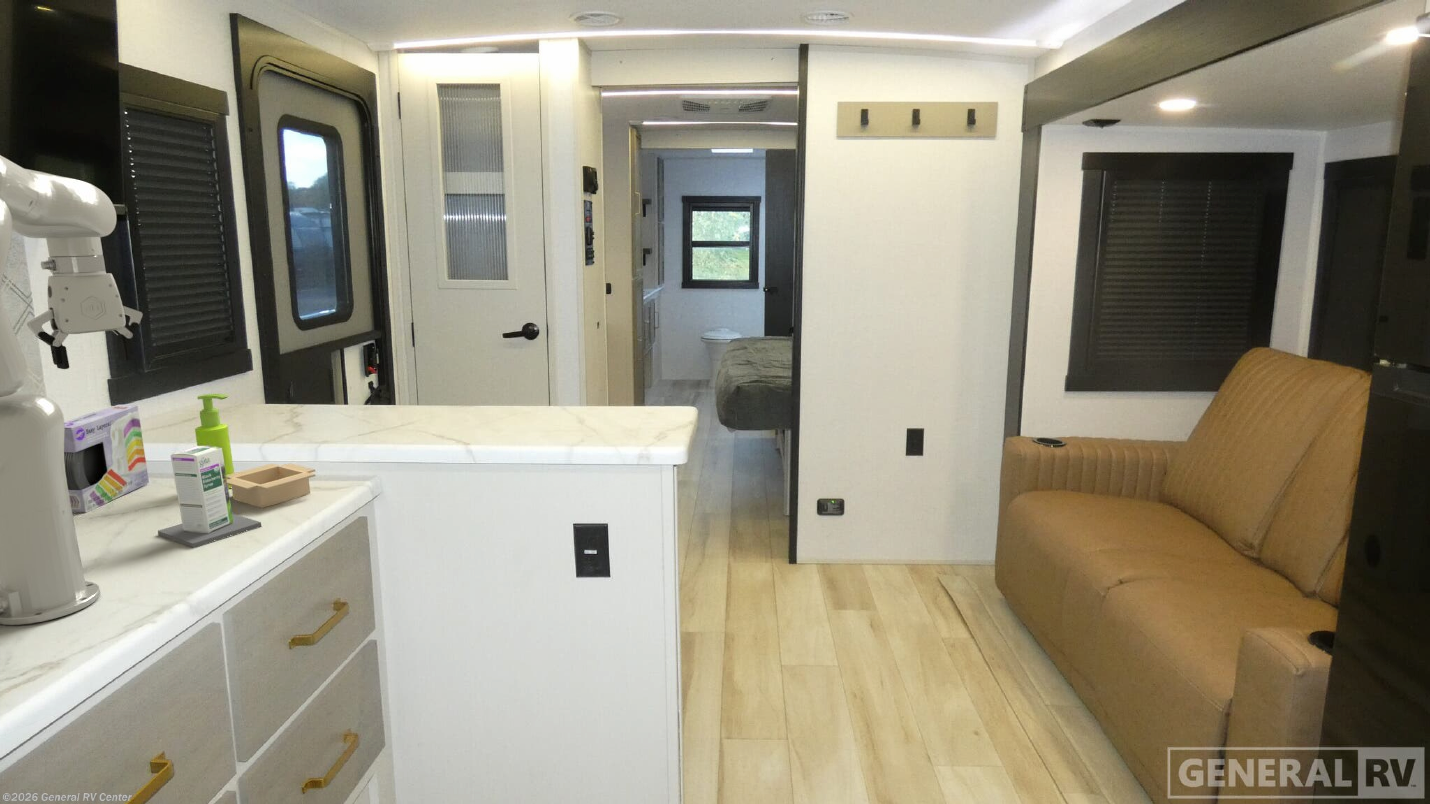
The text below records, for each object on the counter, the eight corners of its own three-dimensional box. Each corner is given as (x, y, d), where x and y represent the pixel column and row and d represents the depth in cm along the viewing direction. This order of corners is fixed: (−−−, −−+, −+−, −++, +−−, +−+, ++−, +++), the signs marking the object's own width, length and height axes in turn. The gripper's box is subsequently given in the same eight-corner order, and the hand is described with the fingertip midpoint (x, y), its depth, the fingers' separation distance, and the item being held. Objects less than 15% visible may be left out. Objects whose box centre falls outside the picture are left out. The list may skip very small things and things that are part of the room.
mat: (193, 547, 146) (192, 543, 146) (158, 534, 153) (157, 530, 152) (261, 526, 156) (260, 522, 156) (225, 515, 162) (225, 511, 162)
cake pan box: (83, 515, 163) (67, 426, 160) (58, 515, 164) (41, 426, 160) (152, 484, 182) (139, 403, 178) (130, 484, 182) (116, 403, 179)
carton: (259, 513, 163) (256, 490, 162) (216, 500, 171) (213, 478, 170) (326, 492, 175) (324, 471, 174) (283, 481, 183) (281, 461, 182)
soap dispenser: (230, 491, 176) (217, 397, 172) (197, 492, 176) (183, 397, 172) (246, 483, 182) (233, 391, 178) (214, 483, 182) (201, 391, 178)
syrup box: (208, 534, 150) (196, 455, 147) (181, 531, 152) (169, 452, 149) (234, 522, 156) (223, 446, 153) (208, 520, 157) (196, 444, 154)
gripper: (27, 270, 138) (46, 373, 142) (143, 264, 152) (158, 358, 156) (8, 269, 142) (27, 370, 146) (123, 263, 156) (138, 355, 160)
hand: (95, 364), depth 151 cm, fingers open, 9 cm apart
